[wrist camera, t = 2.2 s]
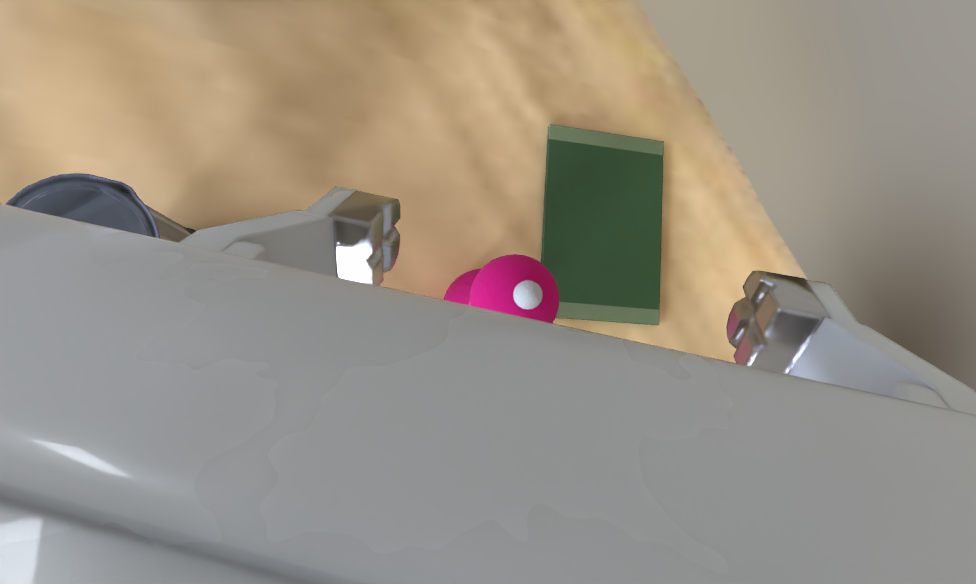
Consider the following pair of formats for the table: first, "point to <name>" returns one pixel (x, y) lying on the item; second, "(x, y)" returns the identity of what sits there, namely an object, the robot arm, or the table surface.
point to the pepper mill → (509, 288)
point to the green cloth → (603, 224)
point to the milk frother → (97, 205)
